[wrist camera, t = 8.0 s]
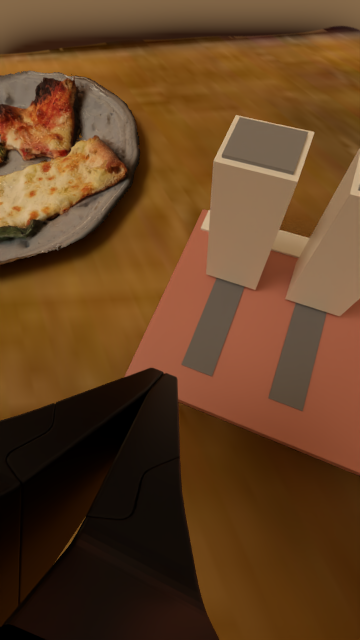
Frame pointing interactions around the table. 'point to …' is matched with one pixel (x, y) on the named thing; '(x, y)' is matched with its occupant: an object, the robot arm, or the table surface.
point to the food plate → (60, 160)
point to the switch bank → (259, 353)
